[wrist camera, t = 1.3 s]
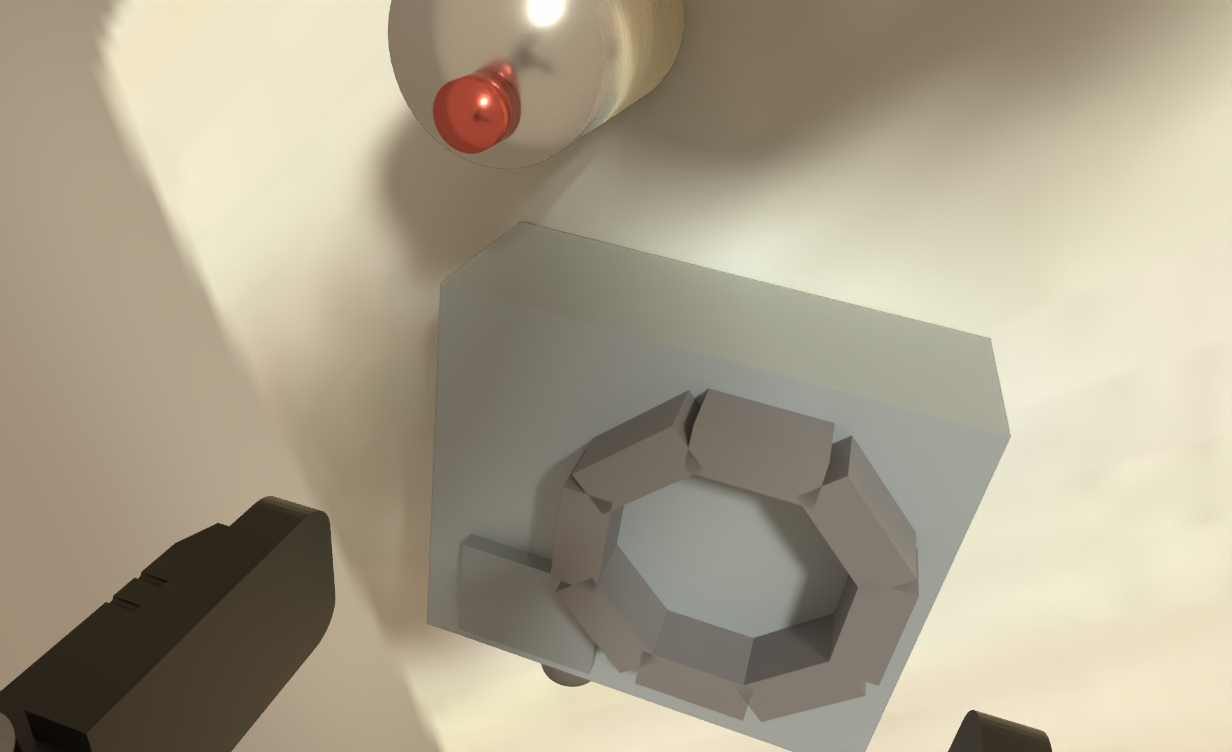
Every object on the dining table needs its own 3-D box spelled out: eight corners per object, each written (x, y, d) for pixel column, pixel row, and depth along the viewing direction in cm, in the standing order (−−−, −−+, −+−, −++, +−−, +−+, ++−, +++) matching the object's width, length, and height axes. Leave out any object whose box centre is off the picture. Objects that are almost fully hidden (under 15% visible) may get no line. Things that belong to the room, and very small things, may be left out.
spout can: (528, -92, 25) (357, -100, 17) (699, -62, 24) (600, -56, 16) (514, 89, 27) (360, 154, 20) (667, 122, 26) (569, 205, 19)
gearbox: (519, 221, 30) (406, 309, 23) (990, 338, 27) (1019, 480, 20) (488, 577, 38) (399, 717, 31) (841, 695, 35) (827, 878, 28)
